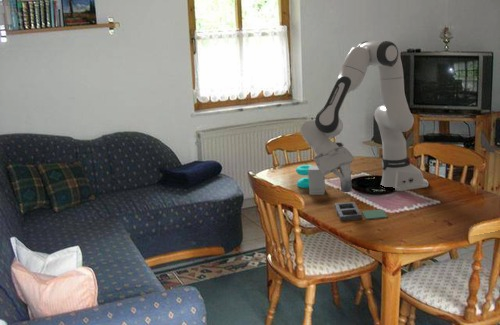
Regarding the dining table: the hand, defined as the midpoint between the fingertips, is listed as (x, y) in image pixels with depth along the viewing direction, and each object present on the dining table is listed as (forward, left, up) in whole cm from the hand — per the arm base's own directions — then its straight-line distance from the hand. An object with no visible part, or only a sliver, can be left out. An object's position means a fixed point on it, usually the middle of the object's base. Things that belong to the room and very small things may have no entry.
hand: (346, 175), depth 257 cm
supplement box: (+10, -29, -16) cm, 35 cm away
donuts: (+14, -41, -16) cm, 46 cm away
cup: (0, 0, -7) cm, 7 cm away
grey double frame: (+1, +3, -16) cm, 16 cm away
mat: (-10, +8, -16) cm, 21 cm away
